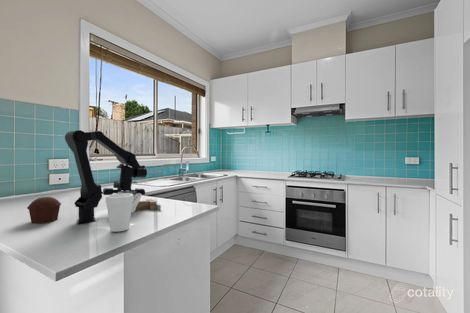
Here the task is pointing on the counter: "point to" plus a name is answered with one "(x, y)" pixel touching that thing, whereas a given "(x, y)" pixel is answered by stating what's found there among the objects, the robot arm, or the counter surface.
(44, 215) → the muffin
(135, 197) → the salt and pepper shakers
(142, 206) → the T block
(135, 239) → the counter surface
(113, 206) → the foam cup
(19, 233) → the counter surface
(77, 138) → the robot arm
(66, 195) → the counter surface
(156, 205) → the corner fence
